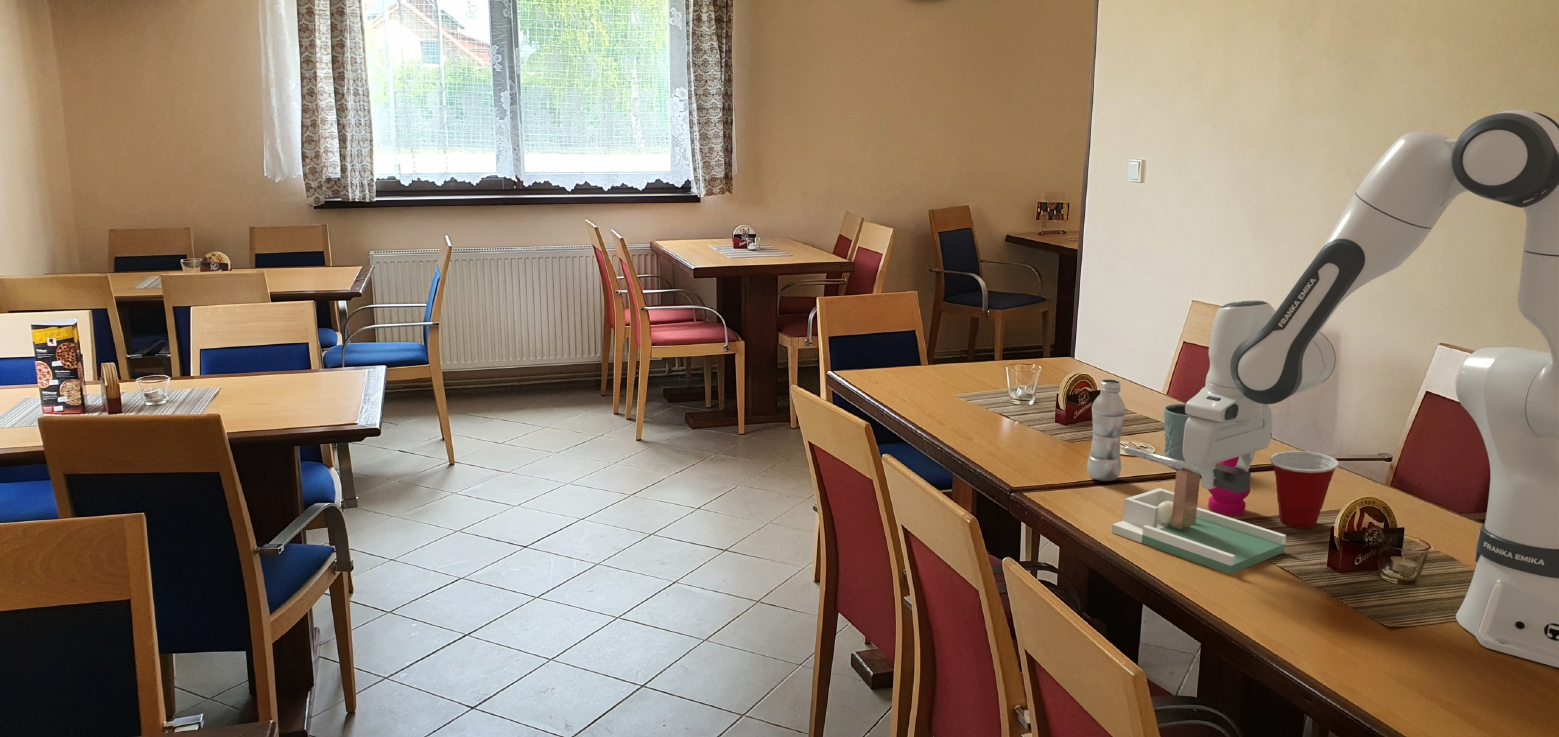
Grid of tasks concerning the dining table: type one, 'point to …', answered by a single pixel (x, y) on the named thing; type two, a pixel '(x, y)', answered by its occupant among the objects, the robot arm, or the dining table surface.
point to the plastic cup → (1302, 485)
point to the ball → (1165, 512)
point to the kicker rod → (1193, 484)
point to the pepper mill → (1227, 497)
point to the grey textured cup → (1175, 431)
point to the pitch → (1198, 535)
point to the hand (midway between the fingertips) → (1224, 482)
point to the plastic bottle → (1106, 432)
